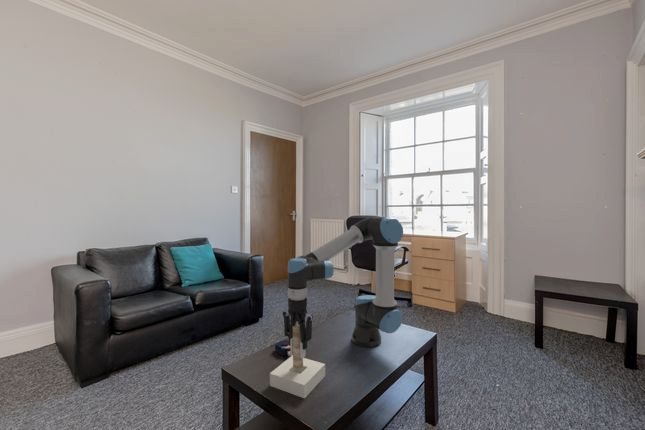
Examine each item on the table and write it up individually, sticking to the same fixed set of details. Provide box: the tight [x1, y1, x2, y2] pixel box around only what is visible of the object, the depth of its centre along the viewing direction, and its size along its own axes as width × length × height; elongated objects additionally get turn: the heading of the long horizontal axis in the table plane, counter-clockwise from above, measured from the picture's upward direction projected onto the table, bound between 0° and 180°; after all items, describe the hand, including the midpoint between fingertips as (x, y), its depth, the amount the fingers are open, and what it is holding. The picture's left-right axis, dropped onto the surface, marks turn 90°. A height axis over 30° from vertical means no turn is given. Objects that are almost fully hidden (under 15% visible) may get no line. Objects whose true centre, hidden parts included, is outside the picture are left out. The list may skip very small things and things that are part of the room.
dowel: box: [293, 323, 304, 368], centre depth 117 cm, size 4×4×16 cm
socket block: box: [269, 355, 326, 399], centre depth 117 cm, size 16×16×5 cm
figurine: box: [274, 339, 292, 357], centre depth 139 cm, size 9×4×15 cm
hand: (298, 355), depth 117 cm, fingers closed on dowel, 4 cm apart
